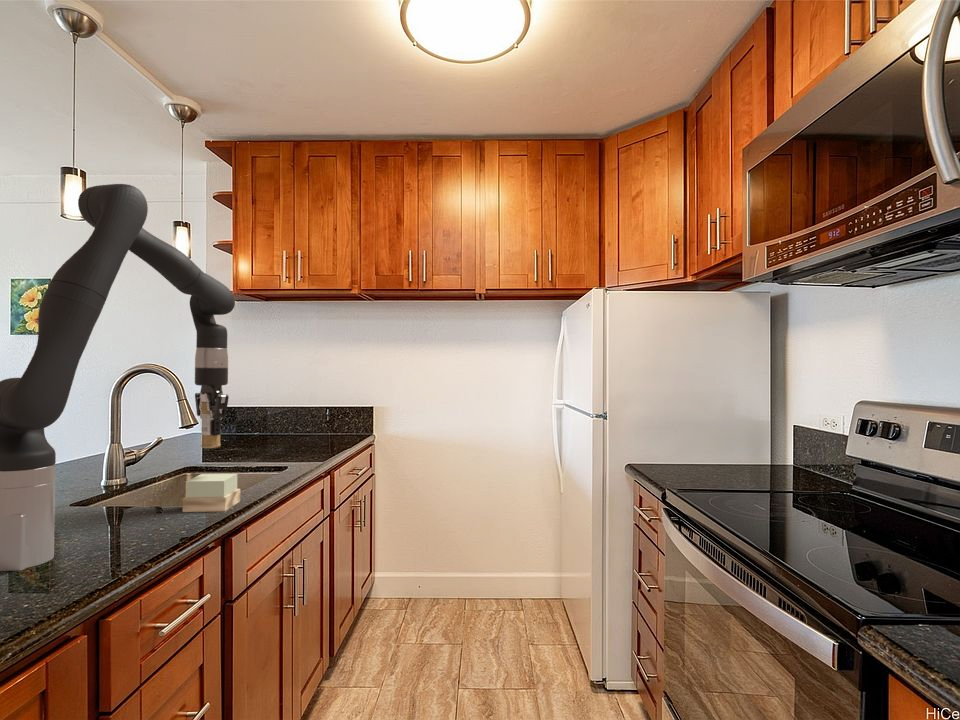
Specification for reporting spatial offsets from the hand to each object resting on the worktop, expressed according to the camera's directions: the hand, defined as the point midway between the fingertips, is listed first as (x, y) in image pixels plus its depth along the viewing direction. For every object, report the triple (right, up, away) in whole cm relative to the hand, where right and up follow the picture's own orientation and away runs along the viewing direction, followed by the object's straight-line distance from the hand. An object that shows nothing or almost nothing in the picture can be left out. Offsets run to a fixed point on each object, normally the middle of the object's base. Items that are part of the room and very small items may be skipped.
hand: (210, 434), depth 139 cm
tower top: (+1, -15, 0) cm, 15 cm away
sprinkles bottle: (0, -3, 0) cm, 3 cm away
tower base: (+1, -19, 0) cm, 19 cm away
